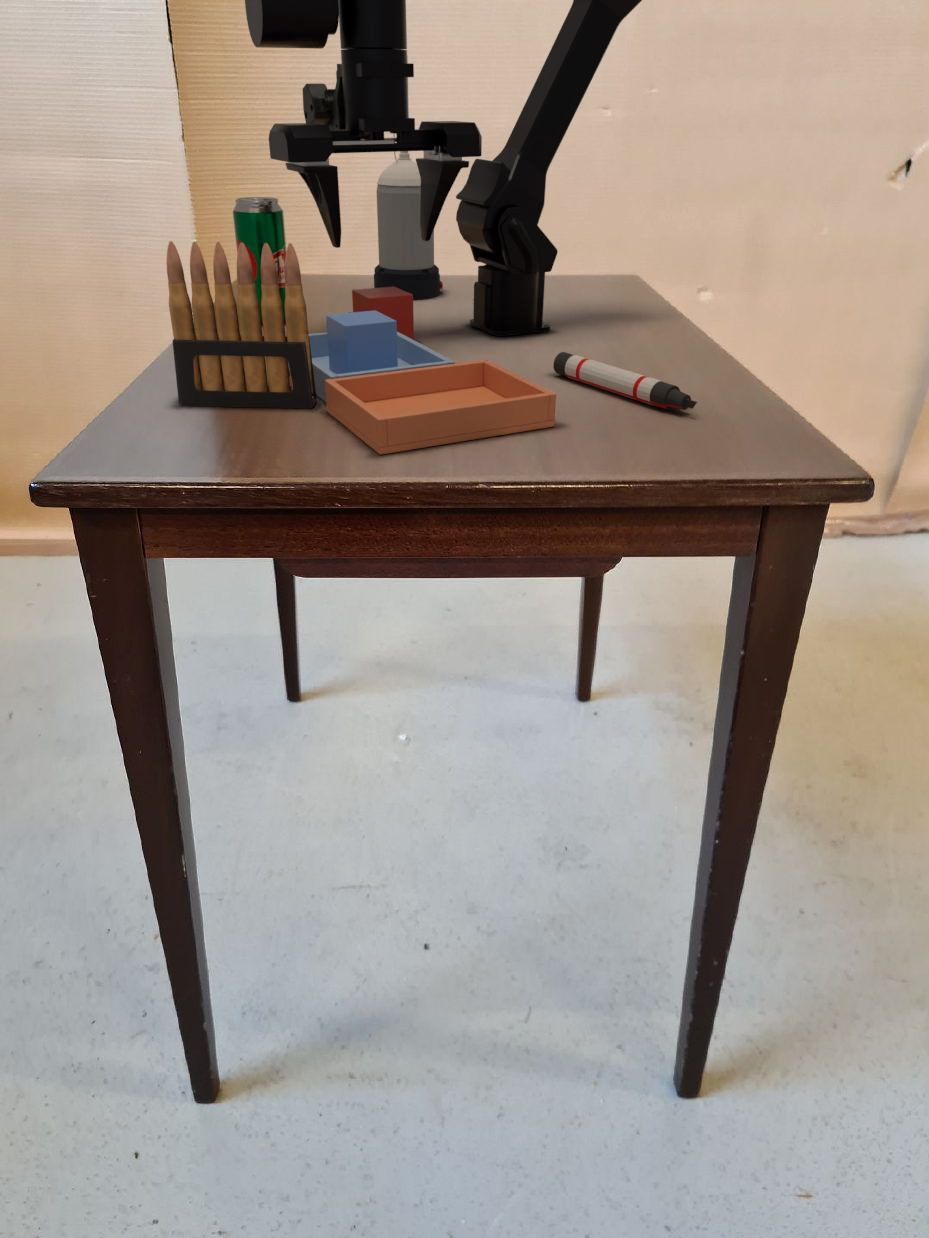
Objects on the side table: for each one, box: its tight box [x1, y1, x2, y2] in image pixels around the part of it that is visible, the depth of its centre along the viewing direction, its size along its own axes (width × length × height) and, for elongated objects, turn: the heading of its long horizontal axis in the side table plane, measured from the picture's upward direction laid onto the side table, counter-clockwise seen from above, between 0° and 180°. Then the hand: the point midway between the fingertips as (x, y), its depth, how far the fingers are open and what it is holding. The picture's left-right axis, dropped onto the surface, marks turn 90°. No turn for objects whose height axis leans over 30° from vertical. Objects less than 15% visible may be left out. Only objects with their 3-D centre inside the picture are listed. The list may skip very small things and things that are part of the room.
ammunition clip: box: [166, 240, 318, 409], centre depth 69 cm, size 11×2×12 cm, turn 88°
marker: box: [552, 351, 698, 411], centre depth 74 cm, size 15×2×2 cm, turn 37°
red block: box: [351, 287, 415, 341], centre depth 89 cm, size 5×5×5 cm
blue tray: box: [286, 331, 456, 403], centre depth 78 cm, size 11×14×2 cm
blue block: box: [325, 310, 398, 374], centre depth 77 cm, size 5×5×5 cm
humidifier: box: [373, 55, 443, 301], centre depth 105 cm, size 8×8×25 cm
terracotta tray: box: [325, 359, 557, 455], centre depth 68 cm, size 14×11×2 cm
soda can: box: [232, 196, 287, 326], centre depth 94 cm, size 5×5×12 cm
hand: (381, 244), depth 86 cm, fingers open, 9 cm apart
